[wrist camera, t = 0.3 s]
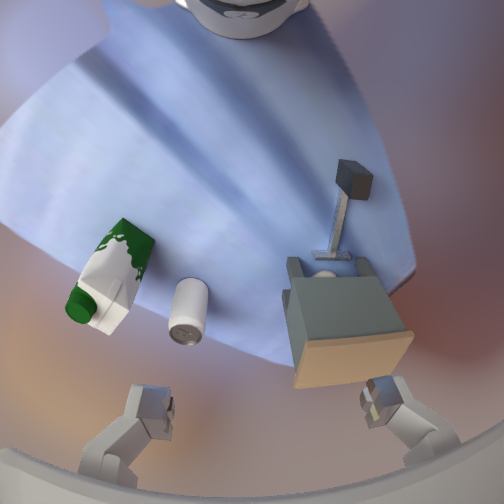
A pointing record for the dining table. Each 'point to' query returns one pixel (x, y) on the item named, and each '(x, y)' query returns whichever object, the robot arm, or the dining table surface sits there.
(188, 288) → the can
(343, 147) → the dining table surface
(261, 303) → the dining table surface
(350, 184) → the block
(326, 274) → the coaster
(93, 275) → the milk carton
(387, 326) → the cabinet
